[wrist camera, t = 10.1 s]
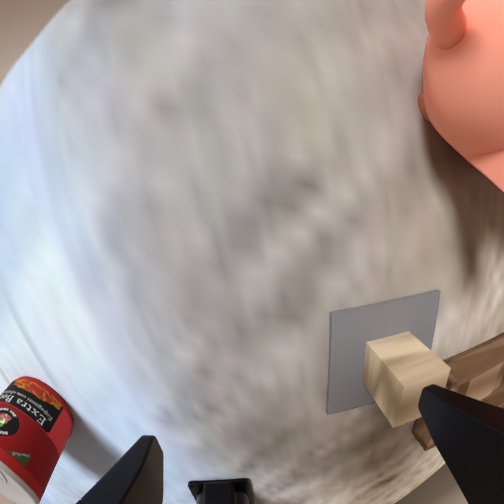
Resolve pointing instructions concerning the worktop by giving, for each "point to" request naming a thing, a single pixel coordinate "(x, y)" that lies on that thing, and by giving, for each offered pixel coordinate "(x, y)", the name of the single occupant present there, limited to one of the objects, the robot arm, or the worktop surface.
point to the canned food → (30, 438)
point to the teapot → (467, 80)
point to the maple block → (401, 375)
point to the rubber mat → (368, 329)
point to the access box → (472, 379)
